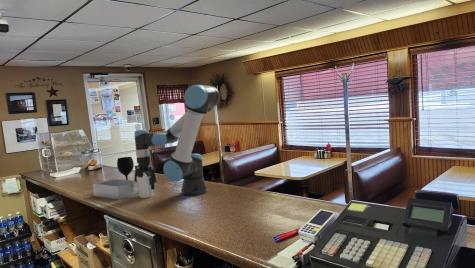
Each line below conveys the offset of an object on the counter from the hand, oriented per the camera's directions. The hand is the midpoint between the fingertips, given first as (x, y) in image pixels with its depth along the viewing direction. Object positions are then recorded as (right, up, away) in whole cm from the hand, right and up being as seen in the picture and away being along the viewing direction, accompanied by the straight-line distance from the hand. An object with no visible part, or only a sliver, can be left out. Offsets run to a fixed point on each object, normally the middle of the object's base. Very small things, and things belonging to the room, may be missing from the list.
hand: (146, 194), depth 191 cm
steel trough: (-20, -2, +7) cm, 22 cm away
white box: (0, -1, 0) cm, 1 cm away
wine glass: (-20, -1, +26) cm, 33 cm away
